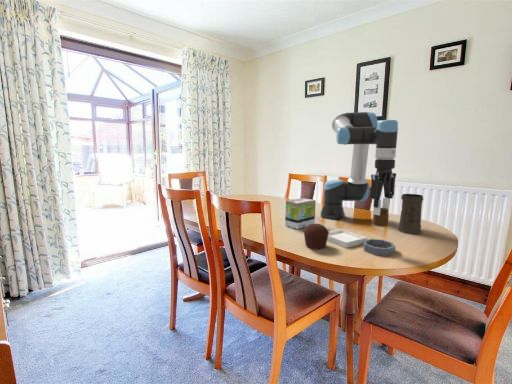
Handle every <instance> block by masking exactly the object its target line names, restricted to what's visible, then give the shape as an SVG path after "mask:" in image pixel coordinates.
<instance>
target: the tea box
mask: <svg viewBox="0 0 512 384" xmlns="http://www.w3.org/2000/svg"><path fill="white" fill-rule="evenodd" d="M316 203H317V201H316V200H315V199H310V198H303V197H300V198H296V199H290V200H289V199H288V200H285V213H284V214H285V216H284V219H285V220H284V225H285V226H286V227H288V226H289V228H291V229H292V228H293V229H295V228H296V229H295V230H299V229H302V228H306V227H307V226H308V225H310V224H315V221H316V219H315V218H316Z"/></svg>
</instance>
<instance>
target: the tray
mask: <svg viewBox="0 0 512 384" xmlns="http://www.w3.org/2000/svg"><path fill="white" fill-rule="evenodd" d="M328 232H329V234H328V238H327V242H330V243H332V244H335V245H338V246H340V247H342V248H344V249H348V248H352V247H356V246H359V245H363V242H364V240H368V237H367V236H364V235H361V234H358V233H355V232H352V231H349V230H346V229H343V228H338V229H334V230H333V229H332V230H328Z"/></svg>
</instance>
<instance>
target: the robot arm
mask: <svg viewBox="0 0 512 384" xmlns="http://www.w3.org/2000/svg"><path fill="white" fill-rule="evenodd" d="M331 127H332V128H331V129H332V130H333V132H335V133H336V144H337V145H344V146H345V145H353V148H352V157H351V167H350V177H348V178H347V182H345V181H344V180H343V179H334V180H333V179H332V180H327V181H326V182H324V188H323V192H324V193H323V194H324V195H323V205H322V208H321V210H320V217H321V218H324V219H329V220H341V219H345V218H346V213H345V210H344V206H343V202H365V201H366V200H367V199H368V198H369V197H370V199H371V200H373V211H372V212H373V213H372V214H374V215H380V210H381V208H386V209H388V215H389V214H390V202H391V199H393V198H394V195H395V185H396V177H397V173H395V172H393V169H395V167H396V159H395V158H396V153H397V143H398V133H399V132H398V130H399V122H398V120H396V119H383V120H378V117H377V114H376V113H375V112H373V111H372V112H371V111H361V112H360V111H359V112H345V113H342V114H339V115H337V116H336V117H334V119H333V120H332V124H331ZM370 145H375V154H374V155H375V156H374V157H375V160H374V168H375V169H376V172H375V174H371V175H370V178H371V185H370V183H369V182H368V180H367V179H366V175H367V174H366V173H367V165H368V157H369V149H370ZM370 186H371V187H370ZM382 191H383V194H384V197H383V198H382V199H381V195H382ZM377 196H378V197H377ZM385 200H386V201H385ZM383 201H385V202H383ZM382 202H383V203H384V204H383V203H382ZM387 202H388V203H387ZM385 204H386V205H385ZM387 204H388V205H387Z"/></svg>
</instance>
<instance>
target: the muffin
mask: <svg viewBox="0 0 512 384" xmlns="http://www.w3.org/2000/svg"><path fill="white" fill-rule="evenodd" d="M302 232H303V234H304V235H303V236H304V243H305V246H306V247H307V248H308V249H311V250H323V249H325V248H326V246H327V242H328V241H327V238H328V234H329V230H328V229H327V227H325V225H323V224H322V223H314V224H310V225H308V226H307V227H304V229H303V230H302Z"/></svg>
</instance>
